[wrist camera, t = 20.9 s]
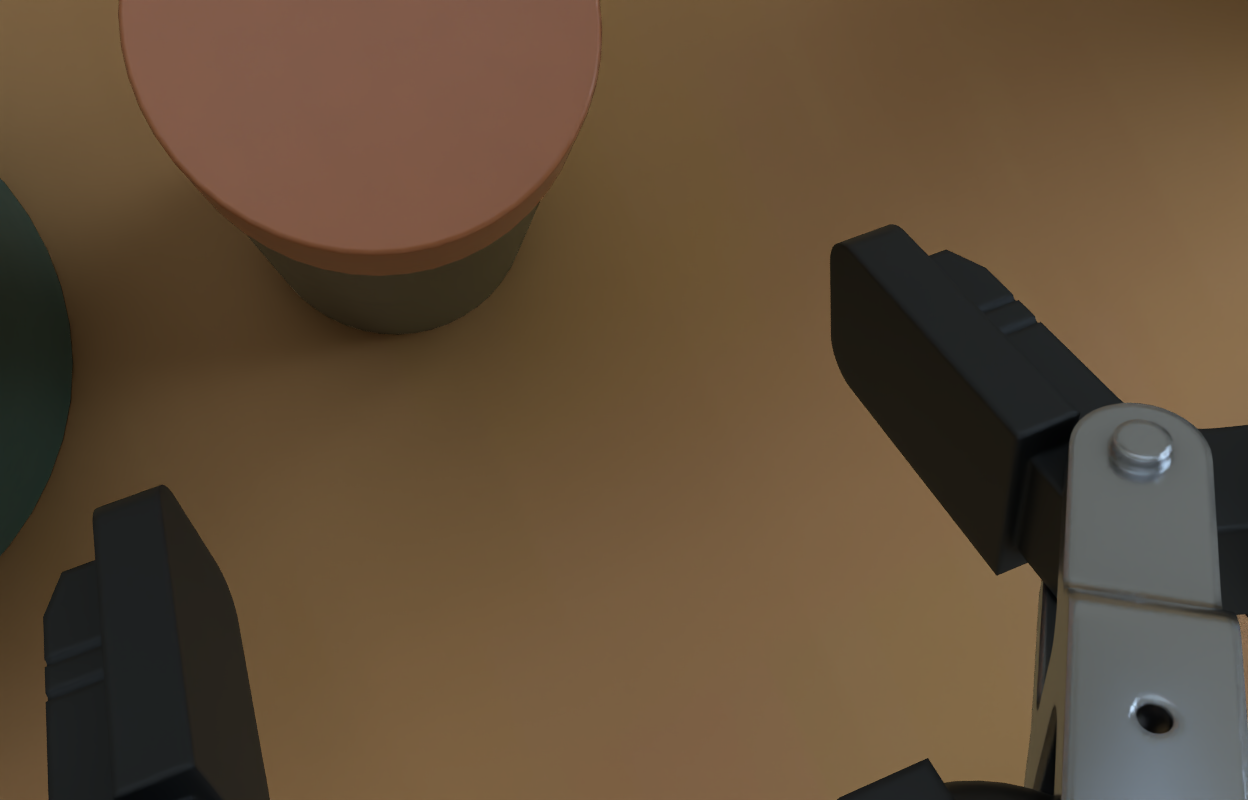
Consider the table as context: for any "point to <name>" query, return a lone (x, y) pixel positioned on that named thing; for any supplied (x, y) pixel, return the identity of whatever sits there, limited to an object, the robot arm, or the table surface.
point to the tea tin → (370, 135)
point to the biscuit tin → (29, 366)
